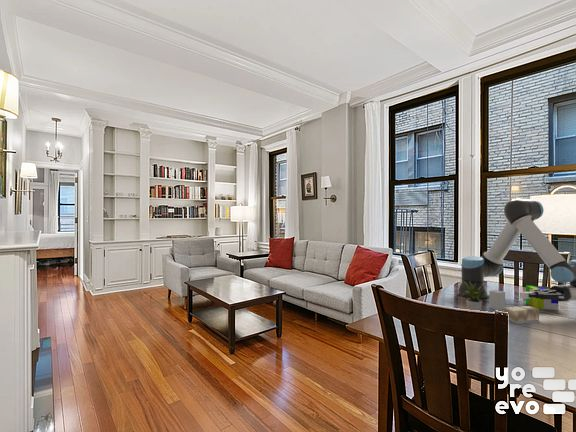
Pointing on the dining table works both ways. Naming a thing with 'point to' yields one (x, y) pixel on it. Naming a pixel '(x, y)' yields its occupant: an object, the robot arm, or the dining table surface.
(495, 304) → the grey block
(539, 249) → the robot arm
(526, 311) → the maple block
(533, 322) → the felt mat
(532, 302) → the puzzle toy
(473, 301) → the house plant
